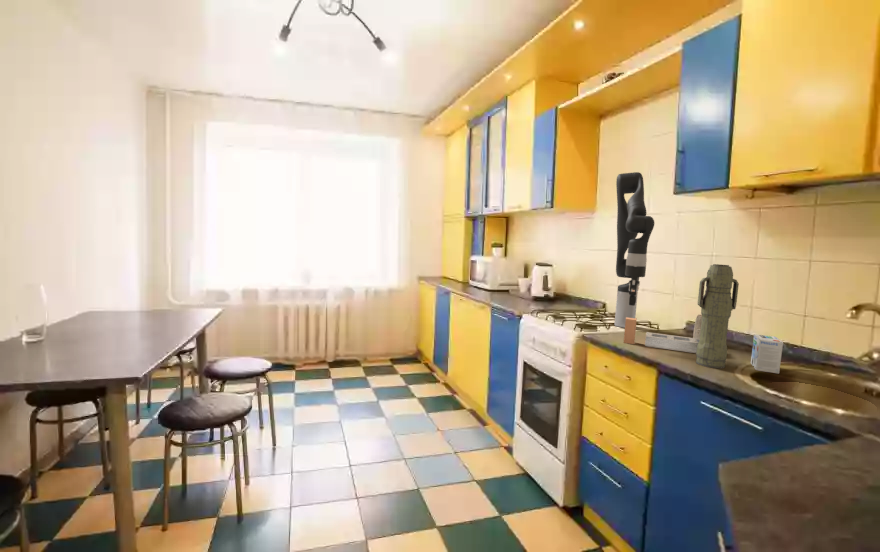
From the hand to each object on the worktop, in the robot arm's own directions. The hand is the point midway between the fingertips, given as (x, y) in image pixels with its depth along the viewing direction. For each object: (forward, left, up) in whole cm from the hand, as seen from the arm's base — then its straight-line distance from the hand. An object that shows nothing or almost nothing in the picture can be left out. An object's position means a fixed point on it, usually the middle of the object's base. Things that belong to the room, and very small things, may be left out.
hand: (632, 304), depth 181 cm
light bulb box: (+12, +44, -16) cm, 48 cm away
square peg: (0, 0, -16) cm, 16 cm away
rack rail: (-2, +19, -16) cm, 25 cm away
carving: (-20, +28, -16) cm, 38 cm away
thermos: (+19, +27, -16) cm, 37 cm away
